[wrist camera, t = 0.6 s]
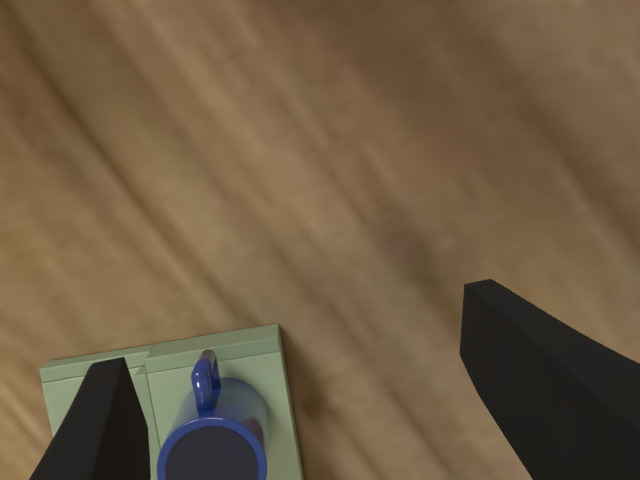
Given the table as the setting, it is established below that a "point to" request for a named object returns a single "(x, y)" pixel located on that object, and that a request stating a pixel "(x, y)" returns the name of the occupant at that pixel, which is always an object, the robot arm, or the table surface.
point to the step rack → (175, 383)
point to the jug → (217, 430)
